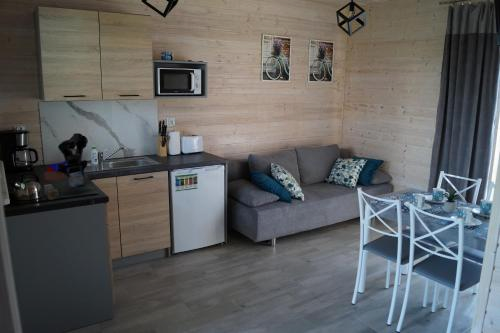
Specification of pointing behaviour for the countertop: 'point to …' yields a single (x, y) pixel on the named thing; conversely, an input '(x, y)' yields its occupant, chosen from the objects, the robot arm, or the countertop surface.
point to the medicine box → (76, 179)
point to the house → (54, 172)
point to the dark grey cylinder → (48, 189)
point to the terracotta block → (47, 186)
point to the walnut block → (53, 194)
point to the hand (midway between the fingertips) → (76, 176)
